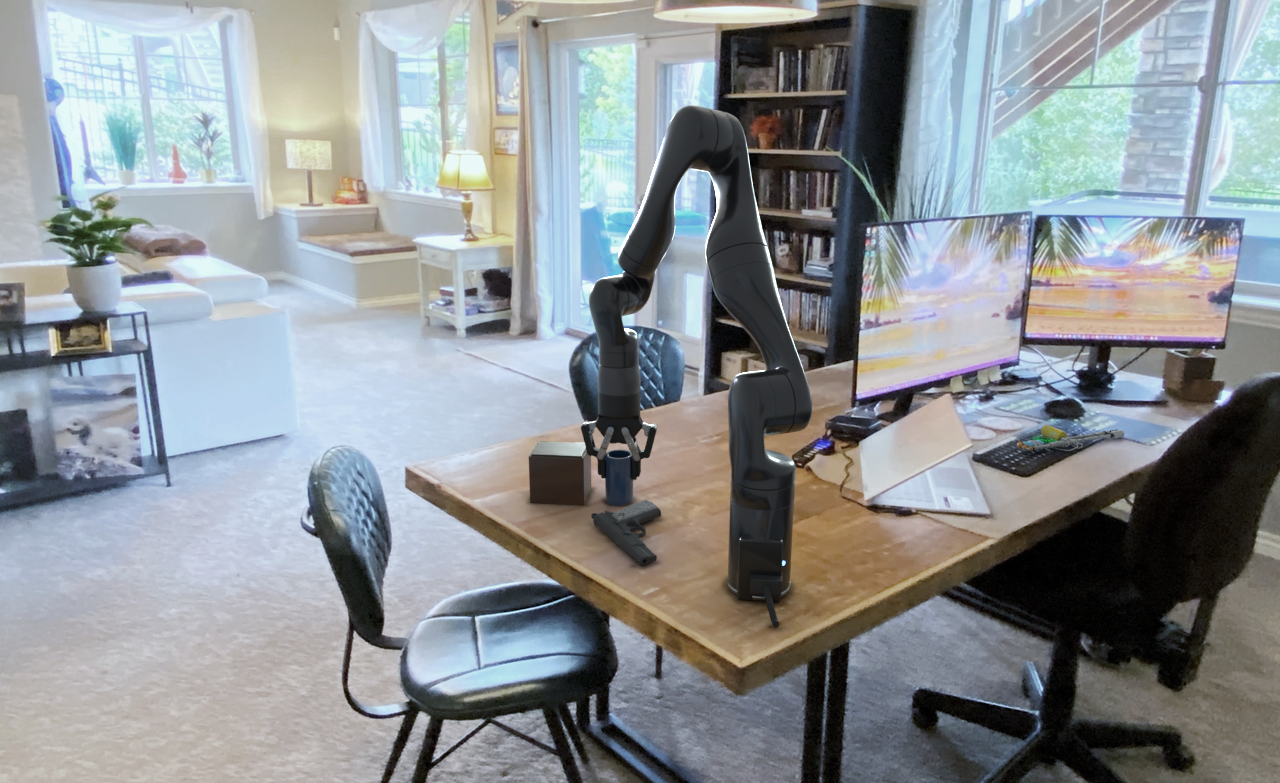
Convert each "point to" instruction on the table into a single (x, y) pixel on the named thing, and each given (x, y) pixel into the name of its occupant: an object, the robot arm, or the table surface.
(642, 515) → the handgun
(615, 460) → the pen cup
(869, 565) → the table surface
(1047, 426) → the flamethrower
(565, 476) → the dark brown box
